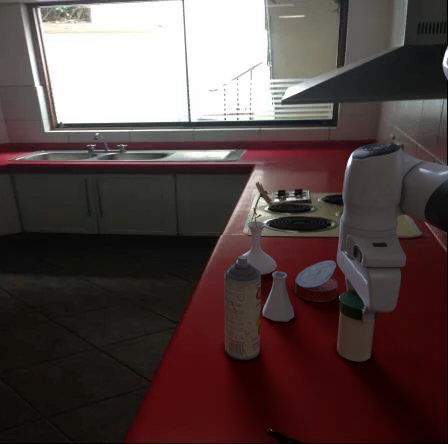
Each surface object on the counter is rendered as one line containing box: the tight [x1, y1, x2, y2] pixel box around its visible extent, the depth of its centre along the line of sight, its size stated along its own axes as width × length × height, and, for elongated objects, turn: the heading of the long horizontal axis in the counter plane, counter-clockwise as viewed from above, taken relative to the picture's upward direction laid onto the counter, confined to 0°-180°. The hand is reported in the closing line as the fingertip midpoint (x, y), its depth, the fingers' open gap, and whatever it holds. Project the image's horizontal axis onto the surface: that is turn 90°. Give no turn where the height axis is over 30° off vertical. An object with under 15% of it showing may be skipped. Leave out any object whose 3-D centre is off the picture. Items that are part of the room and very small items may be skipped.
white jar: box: [336, 311, 376, 363], centre depth 79 cm, size 6×6×11 cm
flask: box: [262, 270, 295, 322], centre depth 94 cm, size 7×7×10 cm
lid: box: [337, 290, 380, 320], centre depth 77 cm, size 7×7×2 cm
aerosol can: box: [223, 255, 262, 361], centre depth 80 cm, size 7×7×20 cm
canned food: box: [294, 260, 339, 303], centre depth 103 cm, size 11×10×10 cm
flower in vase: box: [235, 181, 278, 276], centre depth 115 cm, size 13×11×25 cm
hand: (359, 308), depth 77 cm, fingers closed on lid, 7 cm apart
